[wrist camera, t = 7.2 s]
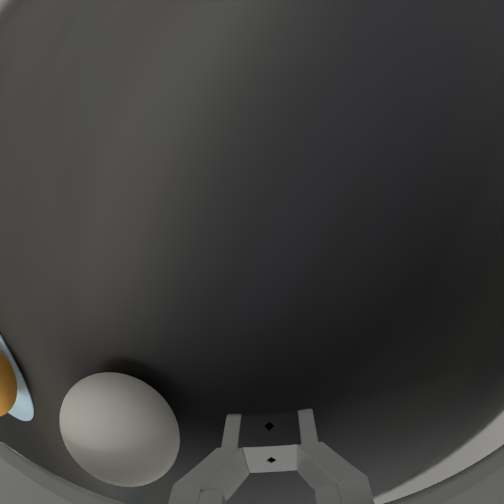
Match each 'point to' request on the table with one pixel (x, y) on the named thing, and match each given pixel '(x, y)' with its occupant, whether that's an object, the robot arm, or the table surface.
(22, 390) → the blue mark
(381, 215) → the table surface
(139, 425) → the white ball
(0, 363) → the orange ball
